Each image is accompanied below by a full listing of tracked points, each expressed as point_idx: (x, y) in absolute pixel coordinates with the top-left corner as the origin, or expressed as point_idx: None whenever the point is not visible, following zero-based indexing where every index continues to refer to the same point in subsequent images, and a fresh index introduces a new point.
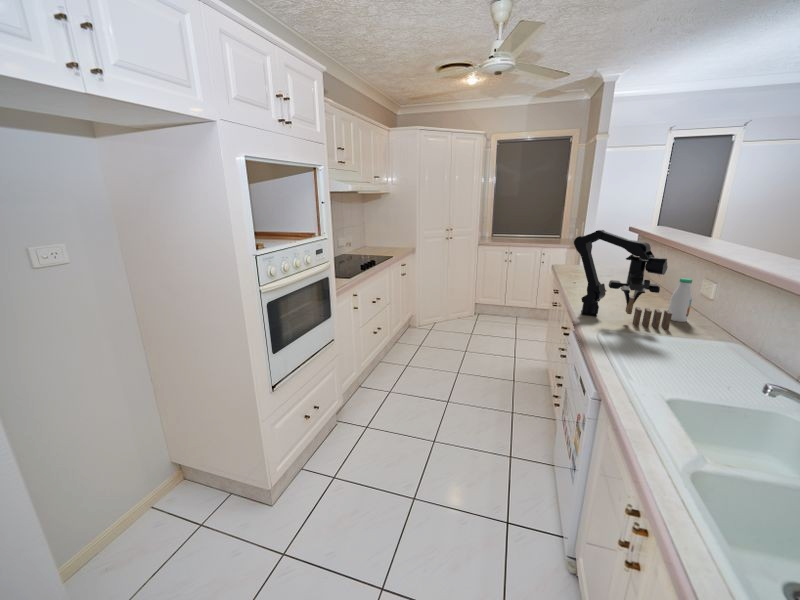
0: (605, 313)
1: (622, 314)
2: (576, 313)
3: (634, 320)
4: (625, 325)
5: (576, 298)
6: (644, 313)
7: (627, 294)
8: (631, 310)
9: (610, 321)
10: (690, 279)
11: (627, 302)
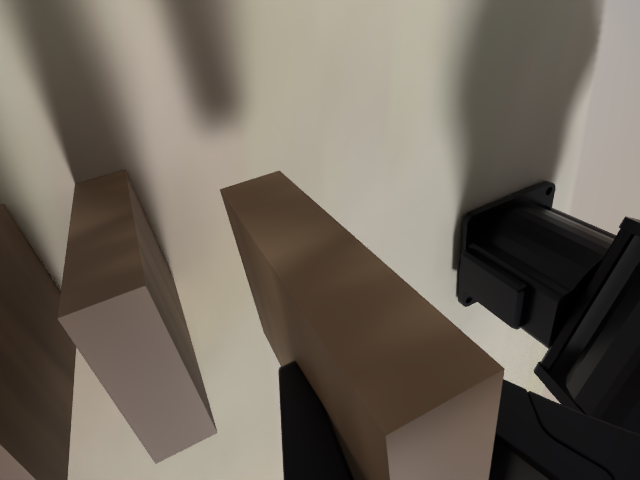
0: None
1: None
2: (571, 184)
3: (154, 244)
4: (220, 99)
5: None
6: (58, 411)
7: (632, 477)
8: (250, 214)
9: (366, 146)
10: None
11: None
